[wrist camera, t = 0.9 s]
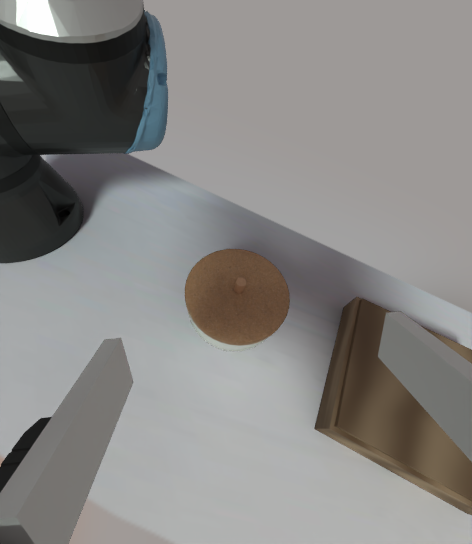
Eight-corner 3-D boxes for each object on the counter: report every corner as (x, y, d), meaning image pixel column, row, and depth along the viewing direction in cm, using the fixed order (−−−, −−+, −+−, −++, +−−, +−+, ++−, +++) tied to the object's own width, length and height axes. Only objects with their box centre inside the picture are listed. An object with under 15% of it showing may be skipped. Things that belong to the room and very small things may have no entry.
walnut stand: (314, 428, 26) (332, 428, 23) (343, 307, 35) (359, 294, 31) (467, 513, 24) (512, 527, 21) (457, 362, 33) (487, 354, 29)
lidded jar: (260, 279, 35) (279, 236, 27) (280, 355, 30) (310, 328, 22) (183, 285, 33) (180, 240, 25) (189, 369, 27) (188, 344, 20)
